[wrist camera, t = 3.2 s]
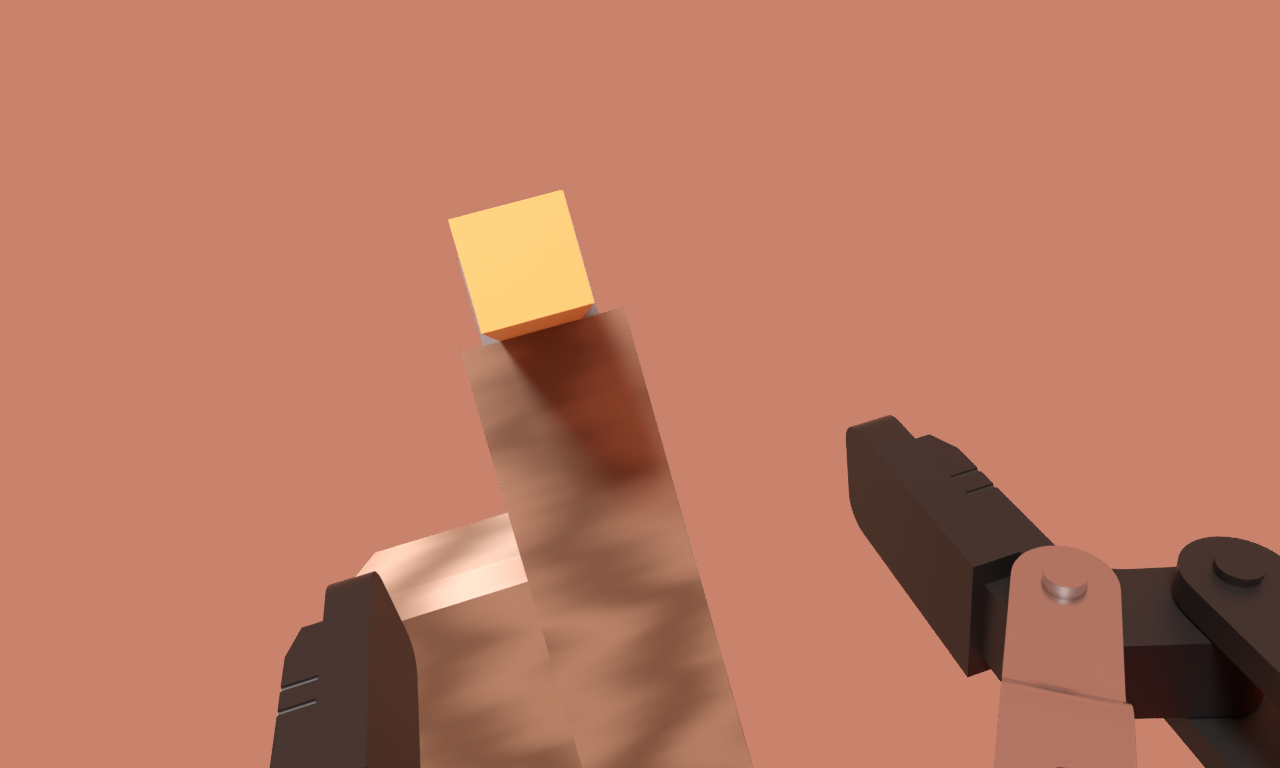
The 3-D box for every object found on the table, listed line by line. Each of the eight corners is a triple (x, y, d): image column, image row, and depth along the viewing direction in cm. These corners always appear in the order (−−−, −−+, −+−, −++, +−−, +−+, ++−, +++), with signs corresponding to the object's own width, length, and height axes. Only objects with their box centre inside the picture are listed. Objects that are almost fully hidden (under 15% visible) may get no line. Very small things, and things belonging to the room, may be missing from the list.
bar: (443, 344, 22) (397, 190, 21) (490, 351, 40) (466, 268, 39) (631, 292, 22) (589, 141, 22) (594, 322, 40) (571, 240, 40)
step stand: (524, 1266, 31) (260, 407, 29) (525, 1048, 41) (328, 397, 39) (855, 1130, 33) (624, 307, 31) (778, 952, 42) (600, 321, 41)
